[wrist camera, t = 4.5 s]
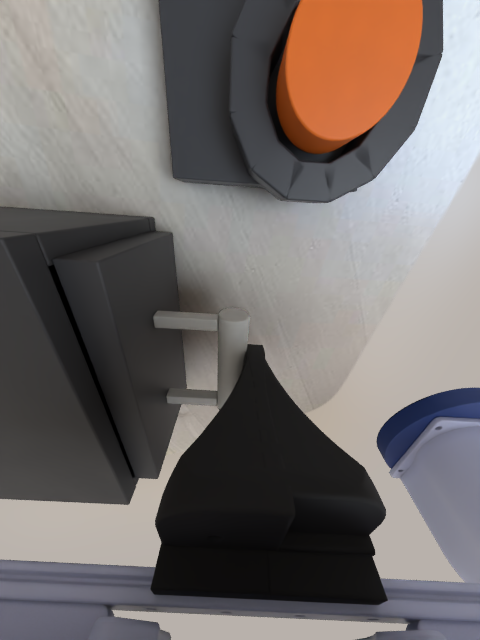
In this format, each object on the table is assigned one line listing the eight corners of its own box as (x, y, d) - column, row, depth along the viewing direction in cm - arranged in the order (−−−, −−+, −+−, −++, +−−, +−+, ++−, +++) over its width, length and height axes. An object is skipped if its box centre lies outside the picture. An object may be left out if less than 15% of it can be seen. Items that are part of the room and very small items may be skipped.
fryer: (154, 217, 11) (0, 237, 4) (175, 382, 17) (129, 505, 10) (-121, 197, 11) (-789, 184, 4) (0, 373, 17) (-171, 491, 10)
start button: (358, 157, 7) (388, 145, 6) (269, 150, 7) (276, 136, 6) (398, 13, 6) (454, -56, 4) (284, 3, 6) (299, -70, 4)
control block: (347, 206, 11) (388, 207, 8) (184, 194, 11) (160, 190, 8) (470, -234, 6) (743, -764, 3) (155, -269, 5) (43, -877, 2)
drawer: (252, 238, 11) (262, 272, 5) (239, 390, 16) (237, 483, 11) (-92, 214, 10) (-465, 224, 5) (14, 377, 16) (-105, 466, 11)
